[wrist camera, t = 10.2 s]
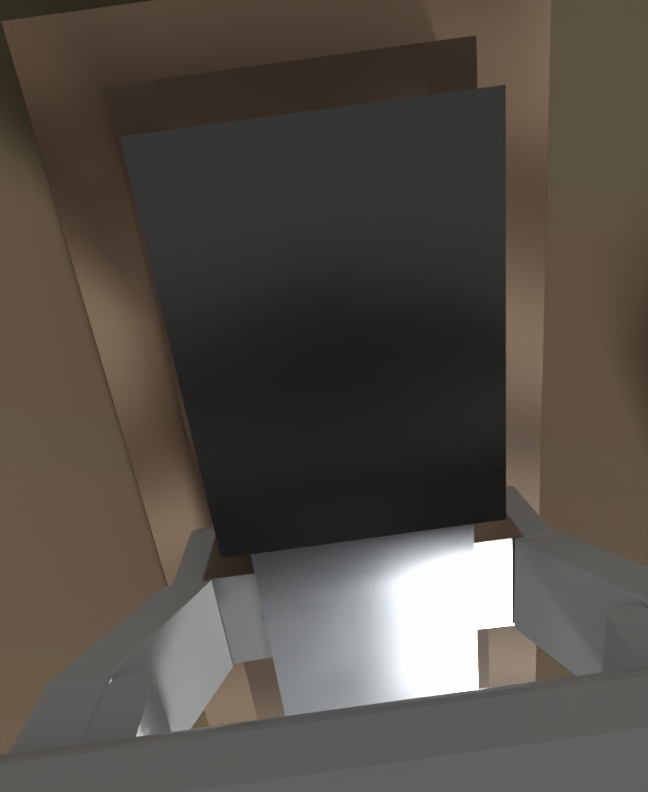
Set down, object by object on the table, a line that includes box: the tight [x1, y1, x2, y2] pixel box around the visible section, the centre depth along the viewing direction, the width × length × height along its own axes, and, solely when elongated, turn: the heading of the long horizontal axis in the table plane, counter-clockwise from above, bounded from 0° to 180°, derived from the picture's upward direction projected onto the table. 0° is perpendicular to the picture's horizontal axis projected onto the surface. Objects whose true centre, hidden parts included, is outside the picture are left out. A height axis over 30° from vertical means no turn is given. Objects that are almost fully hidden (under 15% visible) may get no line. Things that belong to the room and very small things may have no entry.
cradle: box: [1, 0, 551, 727], centre depth 14 cm, size 22×12×4 cm, turn 7°
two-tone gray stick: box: [120, 85, 506, 716], centre depth 9 cm, size 14×4×4 cm, turn 7°
